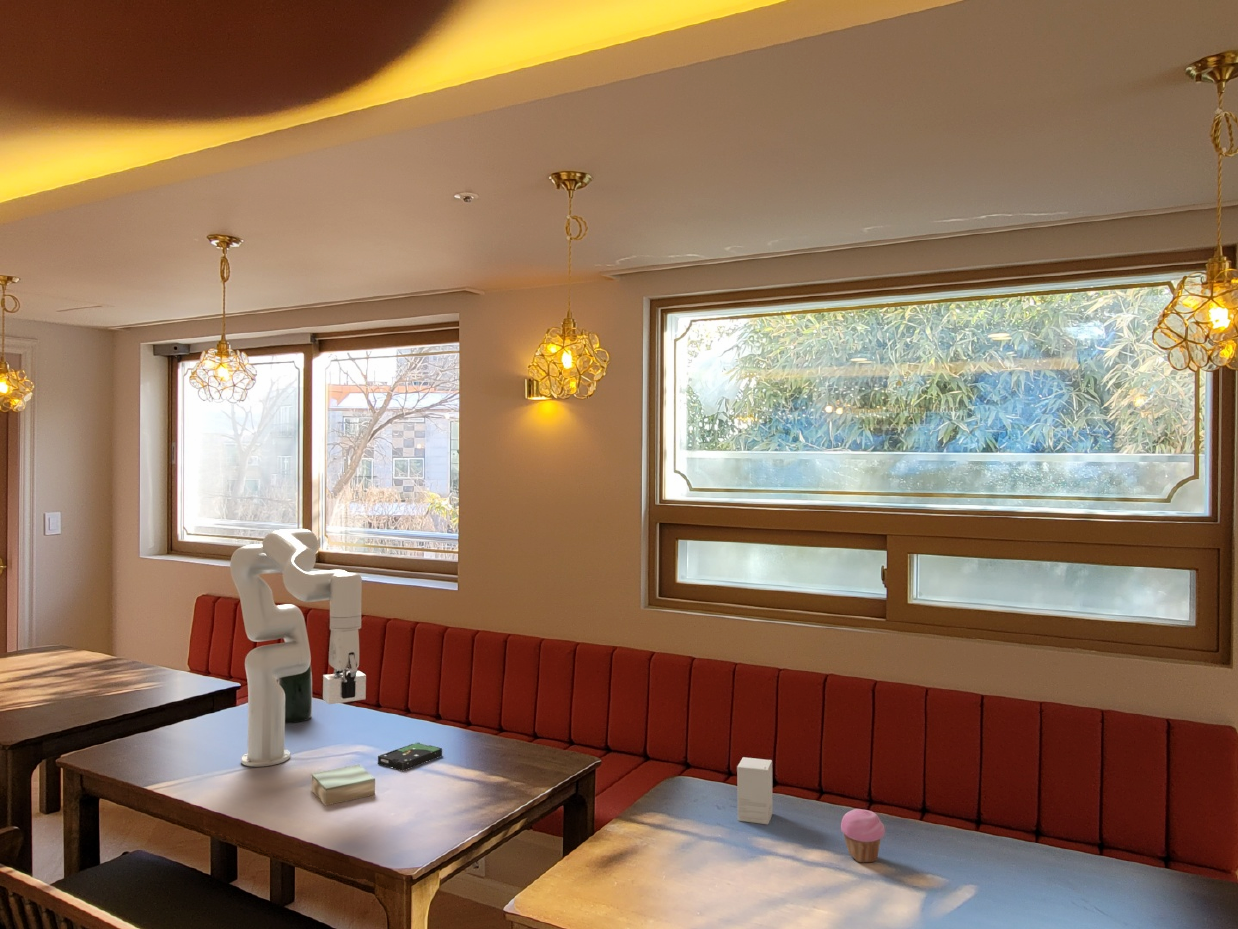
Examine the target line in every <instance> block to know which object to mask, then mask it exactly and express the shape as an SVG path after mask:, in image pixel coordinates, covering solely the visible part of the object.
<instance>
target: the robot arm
mask: <svg viewBox="0 0 1238 929" xmlns="http://www.w3.org/2000/svg"><path fill="white" fill-rule="evenodd" d="M318 549H319V541H318V537H317V535H316V534H315V533H314V532H313V531H311V530H310V529H305V528H297V529H294V528H293V529H279V530H278V529H277V530H273V531H271V532H269V533H268V534H266V535H265V536H264V538H263V540H262V542H261V543H256V544H255V543H254V544H248V545H244V546H240V547H239V548H237V549H236V550H234V551H233V553H232V555H231V558H230V564H229V567H230V568H229V569H230V575H231V579H232V582H233V583H234V585H235V588H236V590H237V592H238V596H239V600H240V606H241V607H240V608H241V612H242V613H241V614H242V619H243V623H244V624H243V625H244V631H245V634H246V636H247V639H248V640H250V641H251V642H255V643H256V642H258V643H259V642H267V641H274V640H279V639H283V640H284V642H281V643H280V642H279V643H273V644H272V643H271V644H267V645H266V644H265V645H261V646H258V647H255V648H253V649H252V650H250V651H249V652H248V653H247V654H246V655H245V659H244V669H245V674H246V679H247V692H248V694H247V695H248V696H247V697H248V699H247V701H248V702H247V707H248V708H247V749H246V752H247V753H245V754H243V755H242V756H241V757H240V760H241V761H240V762H241V765H243V766H246V767H251V768H252V767H255V768H258V767H259V768H260V767H261V768H262V767H269V766H275V765H278V764H281V763H284V762H286V761H288V760H289V759H290V758H291V751H289V750H288V749H285V746H286V745H285V744H286V742H285V741H286V740H285V737H286V736H285V735H286V733H285V732H286V731H285V730H286V722H285V692H284V690H283V688H282V687H281V686H280V685H279V683H278V682H279V681H278V680H279V678H282V677H287V676H292V675H297V674H301V673H303V672H305V671H306V670H307V669H308V668H309V666H310V664H311V660H312V657H311V655H312V654H311V650H310V642H309V637H308V632H307V631H308V630H307V625H306V621H305V616H304V615H303V612H302V610H301V608H299V607H298V606H297V605H295V604H290V603H289V604H288V603H287V604H286V603H285V604H280V605H279V604H278V605H276V603H275V600H274V595H273V590H272V588H271V587H270V585H269V584H268V583H267V581H266V580H264V578H262V577H261V576H260V575H265V574H277V573H282V582H283V586H284V588H285V589H286V591H287V592H288V593H289V594H290V595H292V596H293V597H294V598H296V599H297V600H298V601H301V602H305V603H310V602H319V601H329V600H330V601H329V630H330V635H329V636H330V637H329V647H328V648H329V649H328V650H329V651H328V665H330V667H331V668H333V669H334V670H333V674H338V673H343V681H344V682H342V698H343V699H346V698H352V697H355V689H356V673H357V671H358V668H359V665H360V637H359V630H360V629H362V596H363V595H362V592H363V590H362V589H363V588H362V584H363V582H362V576H361V574H359V573H357V572H348V571H347V570H344V569H330V570H327V569H325V570H316V571H312V570H313V569H314V567H315V564H316V560H317V559H316V558H317V557H316V554H317V551H318ZM348 667H349V668H348ZM346 672H350V673H348V674H346Z"/></svg>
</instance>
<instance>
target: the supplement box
mask: <svg viewBox="0 0 1238 929" xmlns="http://www.w3.org/2000/svg"><path fill="white" fill-rule="evenodd" d="M736 772H737V775H736V776H737V783H736V784H737V786H736V787H737V821H739V822H748V823H754V824H755V823H756V824H762V825H769V824H770V821H771V818H772V816H773V809H774V808H773V806H774V805H773V760H772V759H763V758H755V757H754V758H753V757H747V756H746V757H745V756H743V757H742V758H741V760H740V761H739V763H738V764H737V765H736Z"/></svg>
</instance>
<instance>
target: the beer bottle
mask: <svg viewBox="0 0 1238 929" xmlns="http://www.w3.org/2000/svg"><path fill="white" fill-rule="evenodd" d="M277 682H278V683H279V685H280V686H281V687H282V688H283V690H284V692H285V723H287V722H288V723H289V722H292V723H299V722H304V721H307V720H309V719H310V718H311V717H312V714H313V675H312V665H311V663H310V666H309V668H308V669H307V670H306V671H305V672H303V673H301V674H297V675H292V676H287V677H282V678H279V679H278V681H277ZM288 723H287V724H288Z"/></svg>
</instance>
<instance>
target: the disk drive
mask: <svg viewBox="0 0 1238 929" xmlns="http://www.w3.org/2000/svg"><path fill="white" fill-rule="evenodd" d="M440 756H441V757H442V756H443V747H440V746H439V747H438V746H434V745H431V744H430V745H429V744H423V743H421V742H414V743H410V744H408V745H405V746H403V747H400V748H397V749H394V750H391V751H388V752H385V753H383V754H380V755H378V756H377V764H378V765H382V766H383V767H388V768H391V767H393V768H392V769H394V768H396V769H395V770H398V769H400V771H401V770H402V771H401V772H404V771H406V769H407V770H409V769H408V768H410V769H412V768H414V767H417V766H419V765H422V763H423V764H425V763H427V762H426V761H428V762H430V761H432V760H435V758H436V759H437V757H438V758H440ZM429 760H430V761H429ZM424 762H425V763H424ZM411 767H412V768H411ZM403 770H404V771H403Z"/></svg>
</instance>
